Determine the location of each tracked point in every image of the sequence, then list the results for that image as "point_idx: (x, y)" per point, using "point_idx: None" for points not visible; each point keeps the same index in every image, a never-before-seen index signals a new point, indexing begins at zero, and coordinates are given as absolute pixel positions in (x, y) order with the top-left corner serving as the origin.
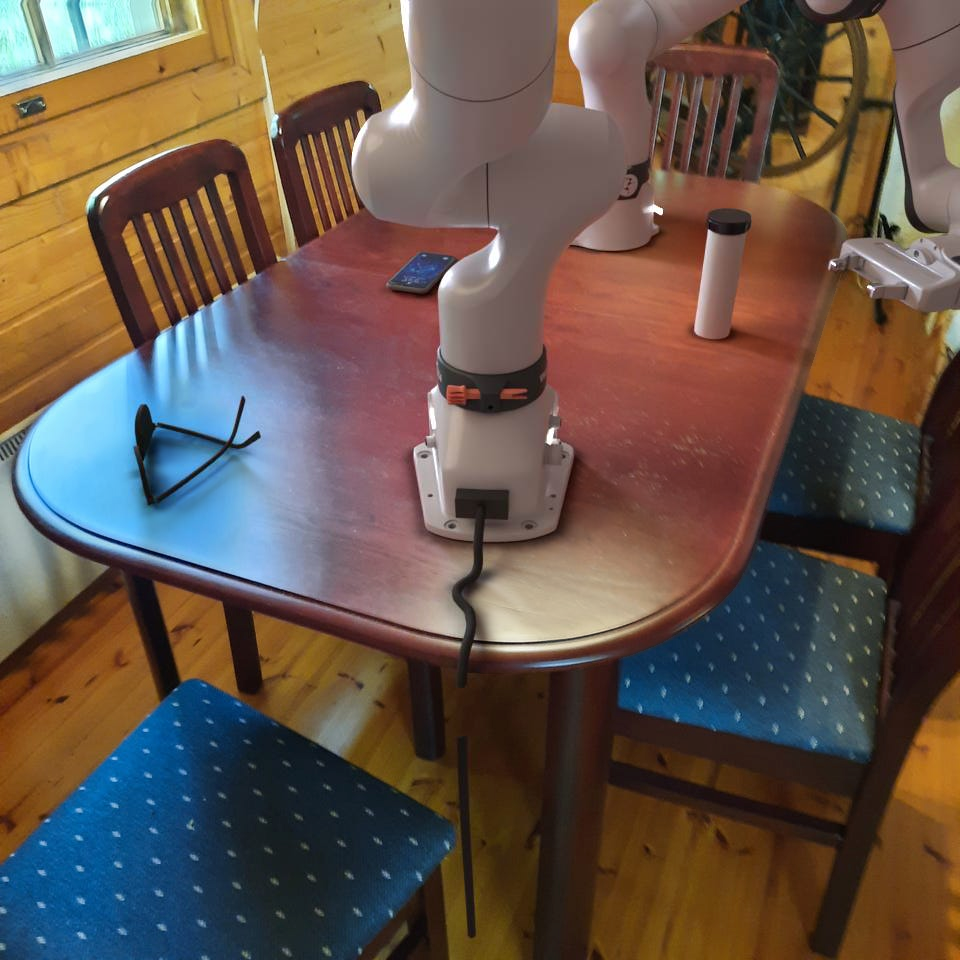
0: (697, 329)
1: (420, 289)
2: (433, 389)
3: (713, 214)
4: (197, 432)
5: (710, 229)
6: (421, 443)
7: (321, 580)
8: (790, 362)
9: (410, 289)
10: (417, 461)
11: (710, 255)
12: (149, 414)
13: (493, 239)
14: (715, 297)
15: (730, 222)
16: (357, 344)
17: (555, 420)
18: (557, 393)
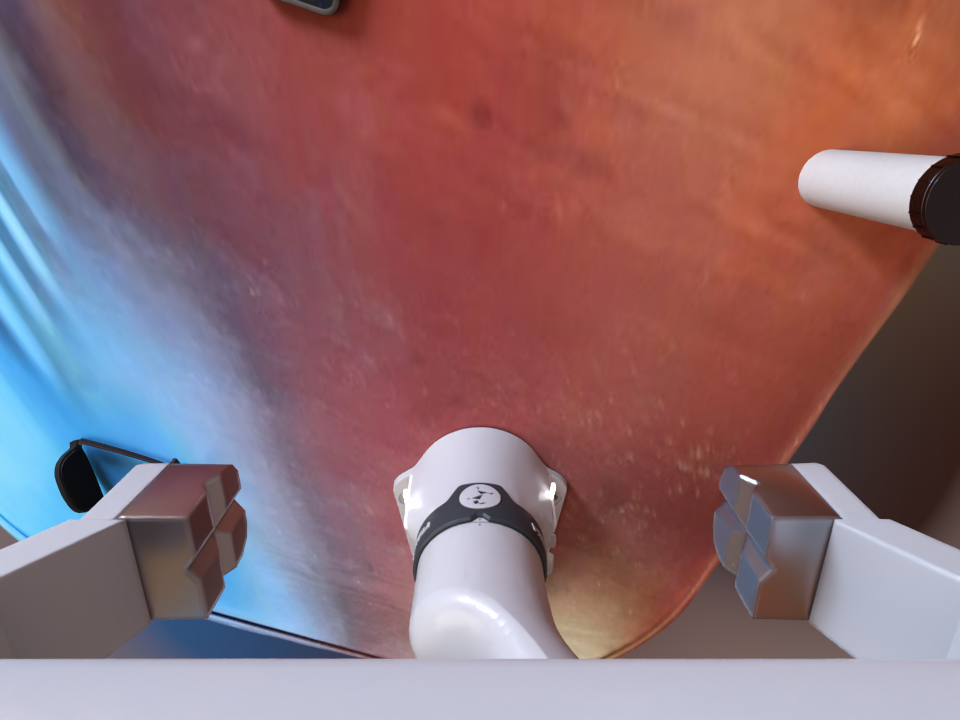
0: (802, 190)
1: (323, 12)
2: (410, 533)
3: (940, 193)
4: (136, 456)
5: (911, 216)
6: (400, 480)
7: (345, 631)
8: (900, 279)
9: (302, 7)
10: (400, 508)
11: (883, 211)
12: (68, 461)
13: (483, 650)
14: (852, 215)
15: (953, 241)
16: (259, 219)
17: (549, 547)
18: (555, 528)
